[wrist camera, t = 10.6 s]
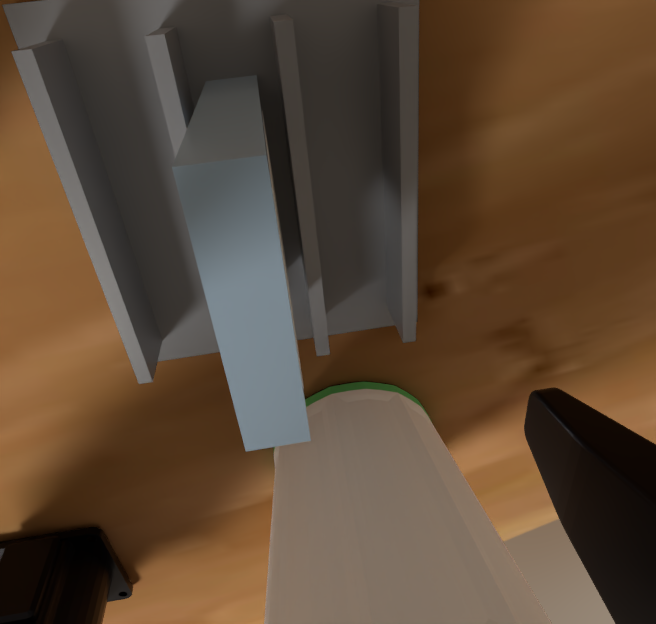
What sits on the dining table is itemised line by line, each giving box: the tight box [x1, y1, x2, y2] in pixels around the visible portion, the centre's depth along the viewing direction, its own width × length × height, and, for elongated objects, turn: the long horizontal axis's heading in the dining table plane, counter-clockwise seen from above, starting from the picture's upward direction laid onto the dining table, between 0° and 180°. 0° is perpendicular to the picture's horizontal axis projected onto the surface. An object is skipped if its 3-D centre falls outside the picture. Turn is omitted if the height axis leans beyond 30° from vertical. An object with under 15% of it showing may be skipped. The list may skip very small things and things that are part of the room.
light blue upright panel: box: [172, 75, 311, 452], centre depth 14 cm, size 7×2×9 cm, turn 5°
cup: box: [264, 382, 552, 624], centre depth 21 cm, size 12×12×15 cm
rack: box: [2, 0, 419, 384], centre depth 18 cm, size 13×12×4 cm
